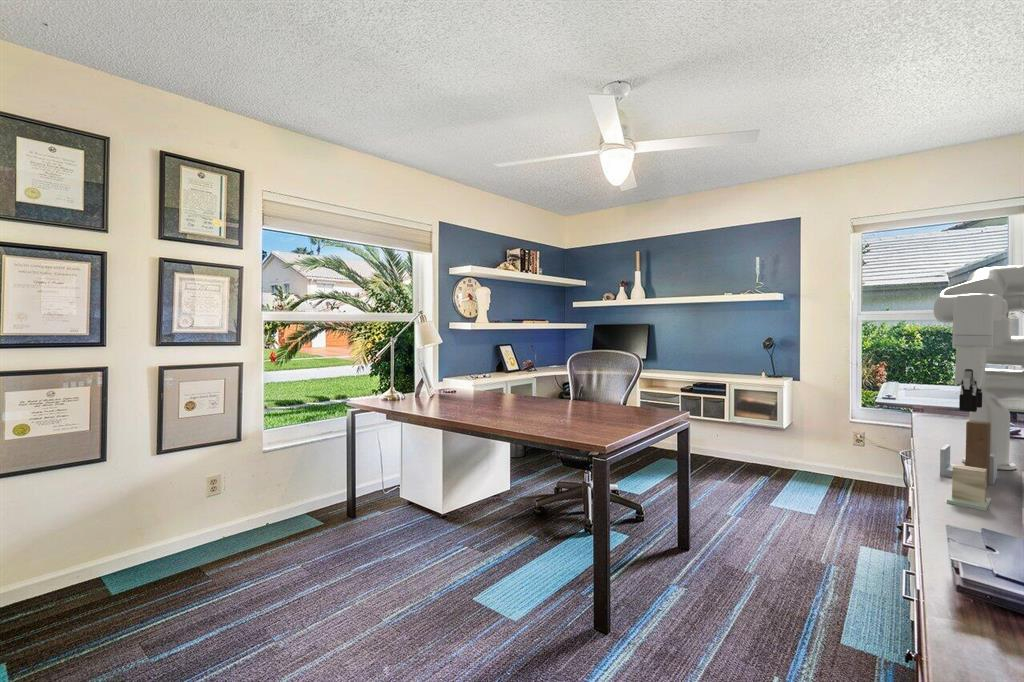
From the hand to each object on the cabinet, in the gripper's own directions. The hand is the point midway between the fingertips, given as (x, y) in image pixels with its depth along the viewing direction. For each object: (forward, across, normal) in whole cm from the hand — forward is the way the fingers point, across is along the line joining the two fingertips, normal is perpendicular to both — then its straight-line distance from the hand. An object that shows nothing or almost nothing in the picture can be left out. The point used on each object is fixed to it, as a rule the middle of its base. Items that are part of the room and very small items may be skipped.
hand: (970, 409), depth 124 cm
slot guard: (+24, -30, -3) cm, 39 cm away
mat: (+24, 0, 0) cm, 24 cm away
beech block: (+23, 0, 0) cm, 23 cm away
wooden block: (+24, -19, -1) cm, 31 cm away
